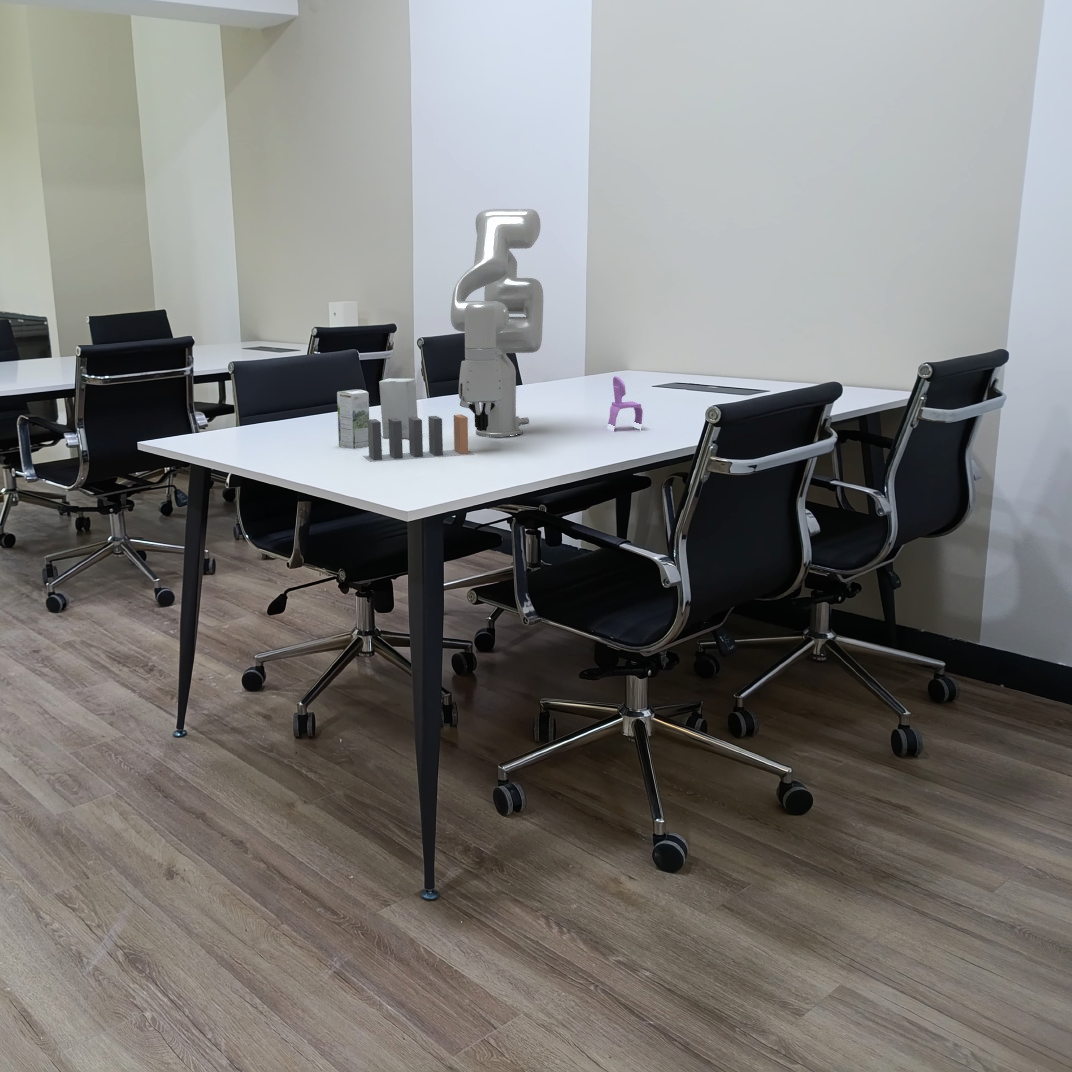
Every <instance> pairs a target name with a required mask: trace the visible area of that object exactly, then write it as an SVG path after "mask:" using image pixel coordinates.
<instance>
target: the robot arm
mask: <svg viewBox="0 0 1072 1072" xmlns="http://www.w3.org/2000/svg"><path fill="white" fill-rule="evenodd" d="M475 230H476V242H475V251H474V260H473V264H472V266H471V267H469V269H468V270H466V271H465V272H464V273H463V275H462V276H461V277H460V278H459V279H458V281H457V283H456V284H455V285H454V288H453V291H452V298H451V305H450V324H451V326H452V328H453V329H454V330H455V331H458V332H461V333H463V332H464V358H465V359H464V360H461V363H460V370H459V381H458V398H459V400H460V401H459V406H460V407H462V408H465V409H469V410H470V411H471V412H472V414H474V427H475V428H476V429H475V434H476V435H477V436H481V437H486V436H489V438H495V437H494V436H510V435H516V434H520V435H522V433H523V432H522V431H523V430H522V429H521V428H520V426H521V425H522V426H524V425H528V424H530V419H529V418H528V417H525V416H524V417H521V418H520V417H519V415H518V416H517V394H516V393H517V387H516V386H517V380H516V379H517V377H516V375H517V374H516V373H517V370H516V367H515V365H514V363H513V361H511V359H510V358H509V357H508V355H507V354H533V353H536V352H538V351H539V350H540V349H541V346H542V340H543V326H544V325H543V321H544V291H543V290H544V289H543V286H542V283H541V282H540V280H538V279H536V278H532V277H518V276H517V275H518V261H517V259H516V256H515V255H514V254H513V253H512V251H510V249H512V250H513V249H521V250H522V249H523V250H525V249H530V248H532V247H533V246H534V245H535V244H536V242H537V240H538V238H539V236H540V234H541V233H540V232H541V219H540V215H539V213H538V211H537V210H535V209H533V208H492V209H486V210H483V211H480V212H479V213H478V214H477V215H476V217H475ZM483 287H484V294H483V295H484V296H483V297H484V298H483V299H484V300H467V298H468V297H469V296H470V295H471V294H473V293H474V292H476V291H477V290H479V289H481V288H483ZM510 315H524V316H510ZM490 436H491V437H490Z"/></svg>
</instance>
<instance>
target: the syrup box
mask: <svg viewBox="0 0 1072 1072" xmlns="http://www.w3.org/2000/svg"><path fill="white" fill-rule="evenodd" d="M369 393H370V392H368V391H367V390H363V389H349V390H348V389H347V390H342V391H341V390H340V391H339V390H338V391H337V392H336V402H337V429H338V430H337V431H338V434H337V435H338V447H340V448H347V449H351V450H356V449H361V448H365V447H369V441H368V420H369V419H370V403H369V402H370V398H369Z"/></svg>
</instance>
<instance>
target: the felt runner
mask: <svg viewBox="0 0 1072 1072" xmlns="http://www.w3.org/2000/svg"><path fill="white" fill-rule="evenodd" d="M474 455H475V453H473V452H471V451H470V450H468V454H459V453H457V452H455V451H454V449H447V450H446V449H445V450H444V449H443V456H434V455H432V454H431V453H429V451H423V457H414V456H412V455H410V452H403V458H400V459H394V458H393V457H391V456H390V453H388V454H387V453H386V454H385V453H384V454H382V460H373V459H372V458H370V457H369V455H362V457H363V458H365V460H367V461H368V462H370V463H372V462H373V463H375V462H387V461H388V462H390V461H403V460H404V461H405V460H417V459H418V460H419V459H432V458H446V457H461V456H474Z"/></svg>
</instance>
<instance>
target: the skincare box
mask: <svg viewBox="0 0 1072 1072" xmlns="http://www.w3.org/2000/svg"><path fill="white" fill-rule="evenodd" d="M378 383H379V396H380V398H379V399H380V414H381V430H382V438H383V439H389V424H388V418H397V419H399V420H401V421H402V440H403V439H408V440H409V418H408V417H418V402H417V388H416V386H417V385H416V383H417V382H416V378H394V377H393V378H390V377H389V378H386V379H383V380H380V381H378ZM418 418H419V417H418Z"/></svg>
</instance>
